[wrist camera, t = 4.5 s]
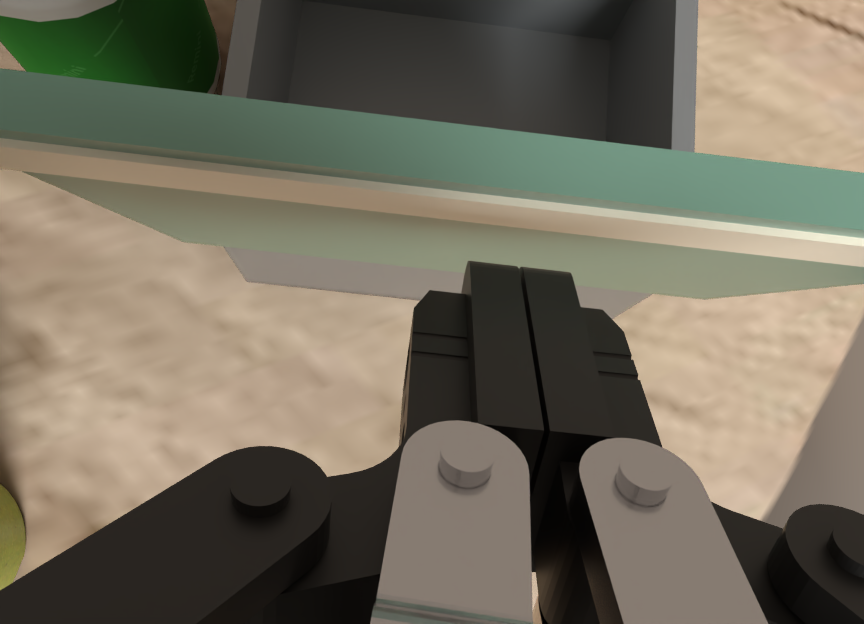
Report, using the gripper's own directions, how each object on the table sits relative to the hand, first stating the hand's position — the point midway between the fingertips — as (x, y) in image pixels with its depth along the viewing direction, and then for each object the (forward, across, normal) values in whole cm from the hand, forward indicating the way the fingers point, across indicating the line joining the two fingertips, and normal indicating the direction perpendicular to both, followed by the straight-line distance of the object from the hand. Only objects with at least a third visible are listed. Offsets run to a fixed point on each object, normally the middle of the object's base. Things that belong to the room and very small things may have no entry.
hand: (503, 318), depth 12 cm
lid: (+6, 0, +1) cm, 7 cm away
